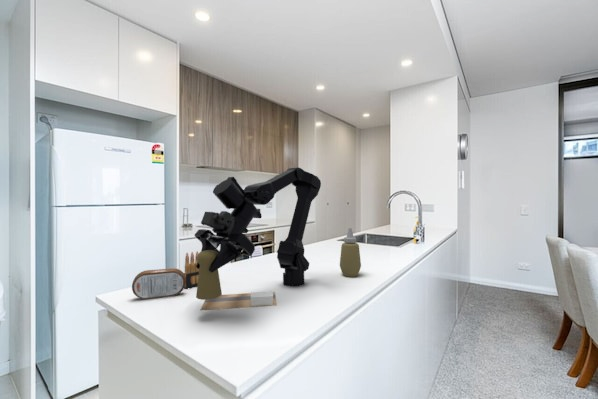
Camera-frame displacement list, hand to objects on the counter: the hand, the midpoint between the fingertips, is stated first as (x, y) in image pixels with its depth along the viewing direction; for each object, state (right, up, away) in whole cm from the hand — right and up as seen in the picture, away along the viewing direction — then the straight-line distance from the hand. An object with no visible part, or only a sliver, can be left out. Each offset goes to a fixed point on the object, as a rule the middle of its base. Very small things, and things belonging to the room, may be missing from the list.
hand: (203, 269), depth 70 cm
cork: (+1, -7, +1) cm, 7 cm away
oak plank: (+6, -13, +12) cm, 19 cm away
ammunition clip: (-11, -13, +30) cm, 35 cm away
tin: (-20, -13, +19) cm, 30 cm away
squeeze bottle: (+43, -12, +41) cm, 60 cm away
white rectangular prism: (+13, -12, +10) cm, 20 cm away
